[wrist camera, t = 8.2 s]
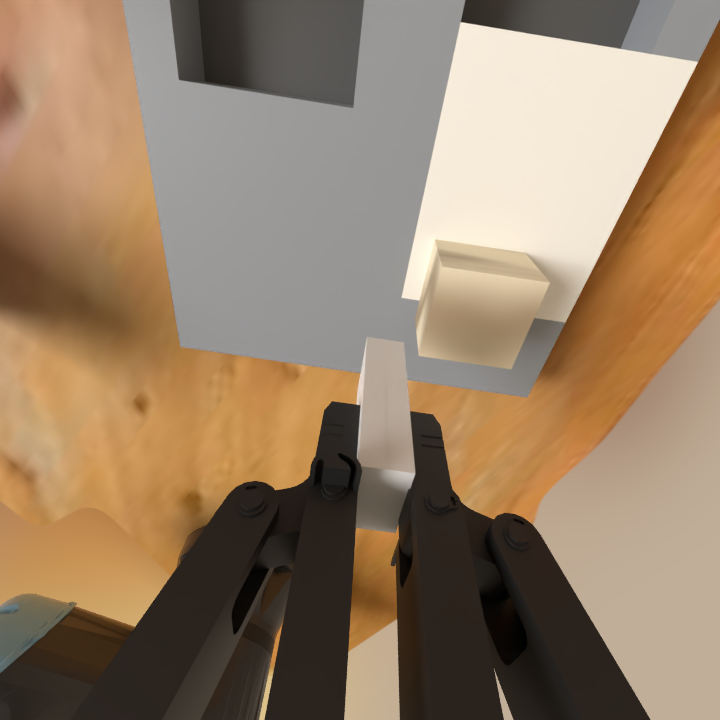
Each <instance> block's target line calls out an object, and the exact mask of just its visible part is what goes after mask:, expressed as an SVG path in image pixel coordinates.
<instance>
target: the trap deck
mask: <svg viewBox="0 0 720 720" xmlns="http://www.w3.org/2000/svg"><path fill="white" fill-rule="evenodd" d="M122 1H123V7H124V13H125V19H126V25H127V31H128V37H129V43H130V49H131V55H132V61H133V67H134V73H135V79H136V85H137V91H138V96H139V102H140V108H141V114H142V120H143V126H144V132H145V138H146V144H147V150H148V156H149V162H150V168H151V174H152V180H153V186H154V192H155V198H156V204H157V210H158V216H159V222H160V228H161V234H162V240H163V246H164V252H165V258H166V264H167V270H168V276H169V282H170V288H171V294H172V300H173V306H174V312H175V318H176V324H177V330H178V336H179V342H180V347H185V348H191V349H198V350H205V351H212V352H219V353H226V354H233V355H239V356H246V357H253V358H260V359H267V360H274V361H281V362H288V363H294V364H301V365H308V366H315V367H322V368H329V369H336V370H342V371H349V372H356V373H361V369H362V363H363V357H364V351H365V346H366V340H367V337H372V338H379V339H385V340H392V341H399V342H404V349H405V360H406V372H407V380H411V381H418V382H425V383H432V384H439V385H445V386H452V387H459V388H466V389H473V390H480V391H487V392H493V393H500V394H507V395H514V396H521V397H528V395H529V393H530V391H531V389H532V387H533V385H534V383H535V381H536V379H537V377H538V376H539V374H540V372H541V370H542V368H543V366H544V364H545V362H546V360H547V358H548V356H549V354H550V352H551V350H552V348H553V346H554V344H555V342H556V340H557V338H558V336H559V334H560V332H561V330H562V328H563V326H564V324H565V322H566V321H567V319H568V317H569V315H570V313H571V311H572V309H573V307H574V305H575V303H576V301H577V299H578V297H579V295H580V293H581V291H582V289H583V287H584V285H585V283H586V281H587V279H588V277H589V275H590V273H591V271H592V269H593V268H594V266H595V264H596V262H597V260H598V258H599V256H600V254H601V252H602V250H603V248H604V246H605V244H606V242H607V240H608V238H609V236H610V234H611V232H612V230H613V228H614V226H615V224H616V222H617V220H618V218H619V216H620V214H621V213H622V211H623V209H624V207H625V205H626V203H627V201H628V199H629V197H630V195H631V193H632V191H633V189H634V187H635V185H636V183H637V181H638V179H639V177H640V175H641V173H642V171H643V169H644V167H645V165H646V163H647V161H648V159H649V158H650V156H651V154H652V152H653V150H654V148H655V146H656V144H657V142H658V140H659V138H660V136H661V134H662V132H663V130H664V128H665V126H666V124H667V122H668V120H669V118H670V116H671V114H672V112H673V110H674V108H675V106H676V104H677V103H678V101H679V99H680V97H681V95H682V93H683V91H684V89H685V87H686V85H687V83H688V81H689V79H690V77H691V75H692V73H693V71H694V69H695V67H696V65H697V63H698V61H699V59H700V57H701V55H702V53H703V51H704V50H705V48H706V46H707V44H708V42H709V40H710V38H711V36H712V34H713V32H714V30H715V28H716V26H717V24H718V22H719V20H720V0H122ZM434 239H438V240H444V241H451V242H458V243H464V244H471V245H477V246H484V247H490V248H497V249H504V250H510V251H517V252H523V253H526V254H527V256H528V257H529V258H530V259H531V260H532V262H533V263H534V264H535V265H536V266H537V268H538V269H539V270H540V271H541V272H542V274H543V275H544V276H545V277H546V278H547V280H548V281H549V282H550V284H549V286H548V289H547V291H546V293H545V295H544V298H543V300H542V302H541V304H540V307H539V309H538V311H537V313H536V315H535V318H534V320H533V322H532V324H531V327H530V329H529V331H528V333H527V335H526V338H525V340H524V342H523V344H522V347H521V349H520V351H519V353H518V356H517V358H516V360H515V362H514V364H513V367H512V369H505V368H498V367H491V366H484V365H478V364H471V363H464V362H457V361H450V360H443V359H436V358H429V357H423V356H419V353H418V344H417V334H416V325H415V317H416V313H417V309H418V305H419V300H420V296H421V292H422V288H423V284H424V280H425V276H426V272H427V268H428V264H429V259H430V255H431V251H432V247H433V243H434Z"/></svg>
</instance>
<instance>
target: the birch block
mask: <svg viewBox="0 0 720 720" xmlns="http://www.w3.org/2000/svg"><path fill="white" fill-rule="evenodd" d="M549 284H550V282H549V281H548V280H547V278H546V277H545V276H544V275H543V274H542V272H541V271H540V270H539V269H538V268H537V266H536V265H535V264H534V263H533V262H532V260H531V259H530V258H529V257H528V256H527V254H526V253H523V252H517V251H510V250H504V249H497V248H490V247H484V246H477V245H471V244H464V243H458V242H451V241H444V240H438V239H434V243H433V247H432V251H431V255H430V259H429V264H428V268H427V272H426V276H425V280H424V284H423V288H422V292H421V296H420V300H419V305H418V309H417V313H416V317H415V325H416V334H417V344H418V353H419V356H423V357H429V358H436V359H443V360H450V361H457V362H464V363H471V364H478V365H484V366H491V367H498V368H505V369H512V367H513V364H514V362H515V360H516V358H517V356H518V353H519V351H520V349H521V347H522V344H523V342H524V340H525V338H526V335H527V333H528V331H529V329H530V327H531V324H532V322H533V320H534V318H535V315H536V313H537V311H538V309H539V307H540V304H541V302H542V300H543V298H544V295H545V293H546V291H547V289H548V286H549Z"/></svg>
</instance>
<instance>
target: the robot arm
mask: <svg viewBox="0 0 720 720" xmlns="http://www.w3.org/2000/svg"><path fill="white" fill-rule="evenodd" d="M442 438H443V437H442V431H441V426H440V424H439V423H438V421H437V420H436V418H435V417H434V416H433V414H425V413H418V412H411V411H410V406H409V395H408V383H407V372H406V360H405V349H404V342H399V341H392V340H385V339H379V338H372V337H367V340H366V346H365V351H364V357H363V363H362V369H361V374H360V380H359V386H358V393H357V405H354V404H347V403H340V402H333V401H332V402H331V403H330V404H329V406H328V407H327V408H326V409H325V410H324V415H323V420H322V425H321V430H320V436H319V441H318V446H317V451H316V457H315V458H314V460H313V462H312V464H311V469H310V476H309V477H308V479H307V480H305V481H304V482H303V483H301V484H299V485H297V486H295V487H291V488H287V489H281V490H274V488H273V487H272V486H270V485H268V484H266V483H264V482H258V481H253V482H246V483H243V484H241V485H239V486H237V487H236V488H235V489H234V490H233V491H232V492H231V493H230V494H229V495H228V496H227V497H226V499H225V500H224V502H223V503H222V505H221V506H220V507H219V509H218V510H217V512H216V513H215V514H214V516H213V517H212V519H211V520H210V522H209V523H208V524H207V526H205V527H202V528H199V529H197V530H195V531H194V532H192V533H191V534H190V535H189V536H188V538H187V539H186V542H185V544H184V546H183V548H182V550H181V553H180V555H179V558H178V562H177V568H176V570H175V571H174V573H173V574H172V576H171V577H170V578H169V580H168V581H167V583H166V584H165V585H164V587H163V588H162V590H161V591H160V593H159V594H158V595H157V597H156V598H155V600H154V601H153V603H152V604H151V606H150V607H149V608H148V610H147V611H146V613H145V614H144V615H143V617H142V618H141V620H140V621H139V622H138V624H137V625H136V627H134V626H131V625H128V624H125V623H122V622H119V621H116V620H113V619H110V618H107V617H105V616H102V615H99V614H96V613H93V612H90V611H87V610H84V609H81V608H78V607H75V606H76V605H77V603H75V602H70V603H65V602H61V601H58V600H55V599H51V598H47V597H44V596H40V595H37V594H22V595H19V596H16V597H14V598H12V599H10V600H8V601H6V602H5V603H3V604H2V605H1V606H0V720H259V717H260V712H261V707H262V702H263V697H264V692H265V687H266V682H267V678H268V673H269V668H270V663H271V657H272V653H273V648H274V643H275V639H276V636H277V633H278V631H279V629H280V627H281V625H282V623H283V625H282V630H281V636H280V641H279V646H278V652H277V657H276V662H275V667H274V673H273V678H272V683H271V689H270V694H269V699H268V705H267V710H266V715H265V720H344V712H345V694H346V679H347V662H348V646H349V629H350V613H351V596H352V580H353V563H354V547H355V530H356V528H362V529H369V530H377V531H385V532H393V533H396V530H397V527H398V524H399V540H398V543H397V546H396V549H395V551H394V554H393V557H392V562H391V566H395V563H396V586H397V621H398V622H397V623H398V663H399V700H400V701H399V703H400V720H504V718H503V713H502V708H501V703H500V698H499V692H498V688H497V682H496V677H495V672H496V675H497V677H498V680H499V683H500V685H501V688H502V690H503V693H504V695H505V698H506V701H507V704H508V706H509V709H510V711H511V714H512V716H513V719H514V720H650V718H649V716H648V715H647V713H646V712H645V710H644V708H643V706H642V705H641V703H640V701H639V700H638V698H637V696H636V695H635V693H634V691H633V690H632V688H631V686H630V685H629V683H628V681H627V680H626V678H625V676H624V674H623V673H622V671H621V669H620V668H619V666H618V664H617V663H616V661H615V659H614V658H613V656H612V654H611V653H610V651H609V649H608V648H607V646H606V644H605V643H604V641H603V639H602V637H601V636H600V634H599V633H598V631H597V629H596V627H595V626H594V624H593V622H592V621H591V619H590V617H589V616H588V614H587V612H586V611H585V609H584V608H583V606H582V604H581V602H580V601H579V599H578V597H577V596H576V594H575V592H574V590H573V589H572V587H571V585H570V584H569V582H568V580H567V579H566V577H565V575H564V574H563V572H562V570H561V569H560V567H559V565H558V564H557V562H556V561H555V559H554V557H553V555H552V554H551V552H550V550H549V549H548V547H547V545H546V544H545V542H544V540H543V539H542V537H541V535H540V534H539V532H538V531H537V530H536V528H535V527H534V526H533V525H532V524H531V523H530V522H528V521H527V520H526V519H524V518H523V517H520V516H518V515H516V514H510V513H503V514H500V515H497V516H496V518H495V519H491V518H489V517H486V516H484V515H482V514H479V513H477V512H475V511H473V510H471V509H469V508H468V507H466V506H465V505H464V504H463V503H461V501H460V499H459V497H458V496H457V494H456V493H455V492H454V491H453V489H452V486H451V482H450V476H449V471H448V465H447V459H446V454H445V450H444V442H443V440H442ZM494 669H495V672H494Z"/></svg>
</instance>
